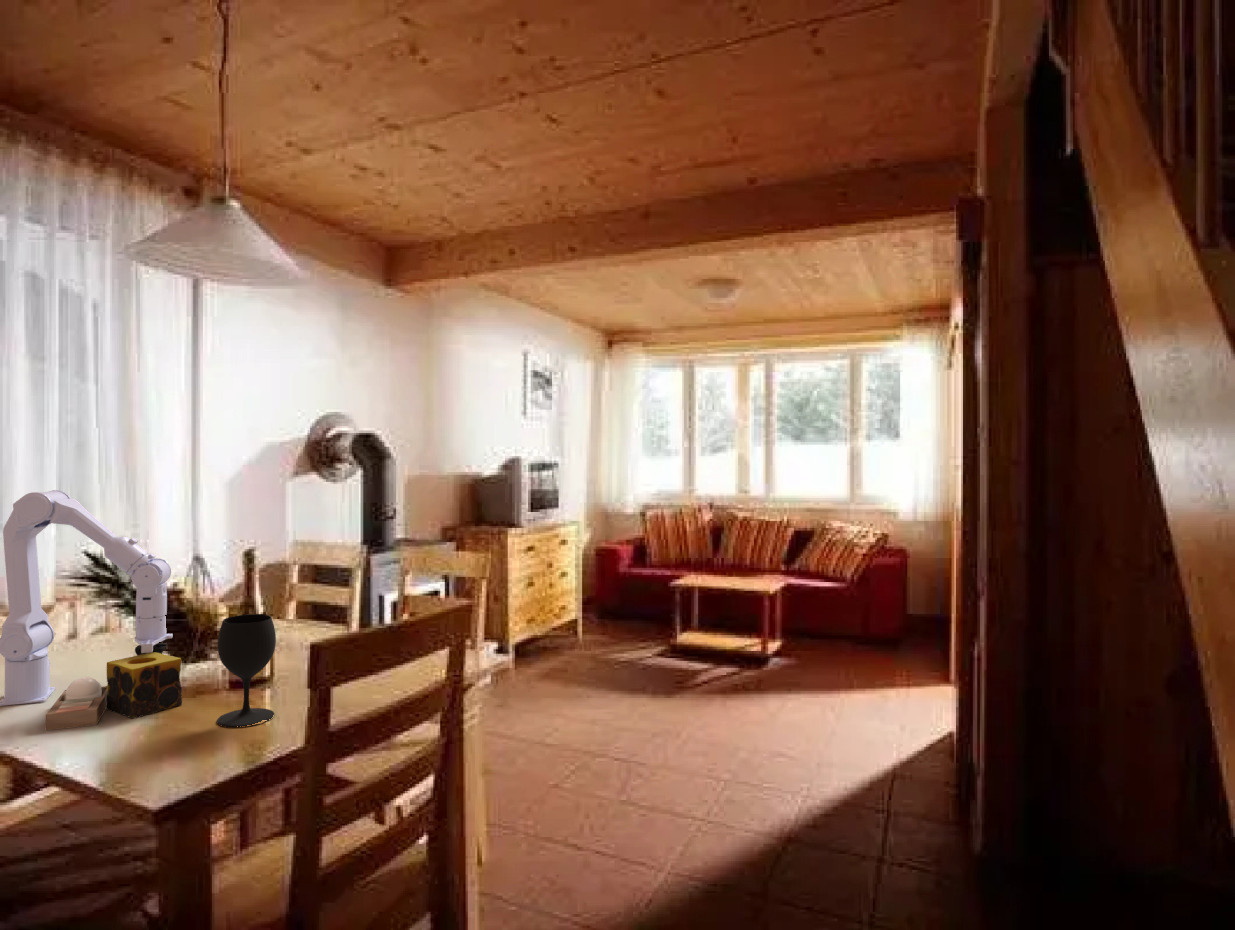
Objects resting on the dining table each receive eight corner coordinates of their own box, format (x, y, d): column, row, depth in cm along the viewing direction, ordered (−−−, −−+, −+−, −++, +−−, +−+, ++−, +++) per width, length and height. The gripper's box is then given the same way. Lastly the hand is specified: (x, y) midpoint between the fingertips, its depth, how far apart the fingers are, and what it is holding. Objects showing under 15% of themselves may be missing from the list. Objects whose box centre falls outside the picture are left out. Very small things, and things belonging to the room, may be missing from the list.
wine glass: (259, 706, 158) (261, 611, 158) (284, 718, 151) (285, 618, 151) (207, 719, 150) (208, 618, 150) (230, 732, 143) (232, 627, 143)
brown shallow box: (64, 704, 157) (65, 689, 157) (110, 699, 160) (111, 684, 160) (45, 730, 142) (45, 713, 142) (96, 724, 146) (96, 708, 146)
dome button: (69, 704, 156) (69, 675, 156) (103, 700, 158) (104, 672, 158) (62, 713, 150) (62, 683, 150) (98, 709, 153) (98, 680, 153)
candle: (183, 705, 158) (183, 658, 158) (131, 719, 149) (132, 669, 149) (156, 696, 163) (156, 650, 163) (105, 710, 154) (105, 661, 154)
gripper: (169, 621, 160) (168, 685, 160) (175, 608, 173) (175, 667, 173) (129, 623, 156) (129, 689, 157) (139, 610, 170) (138, 670, 170)
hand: (150, 678), depth 165 cm, fingers closed
